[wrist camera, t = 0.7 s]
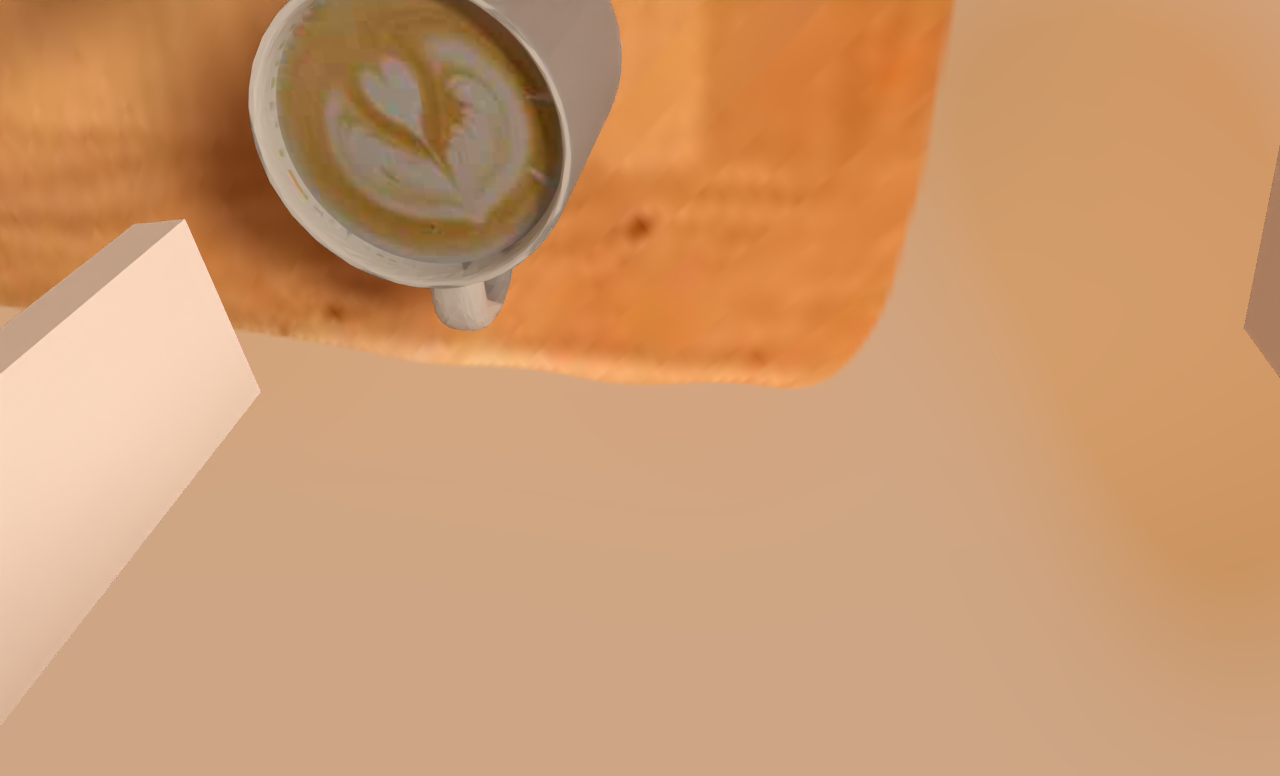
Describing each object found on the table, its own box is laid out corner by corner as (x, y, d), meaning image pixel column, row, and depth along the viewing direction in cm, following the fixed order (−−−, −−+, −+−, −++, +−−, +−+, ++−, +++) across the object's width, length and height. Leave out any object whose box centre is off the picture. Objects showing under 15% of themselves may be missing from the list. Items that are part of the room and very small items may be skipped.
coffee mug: (368, -121, 35) (237, -71, 27) (643, -60, 35) (596, 9, 27) (360, 220, 43) (257, 340, 35) (587, 271, 43) (537, 403, 35)
